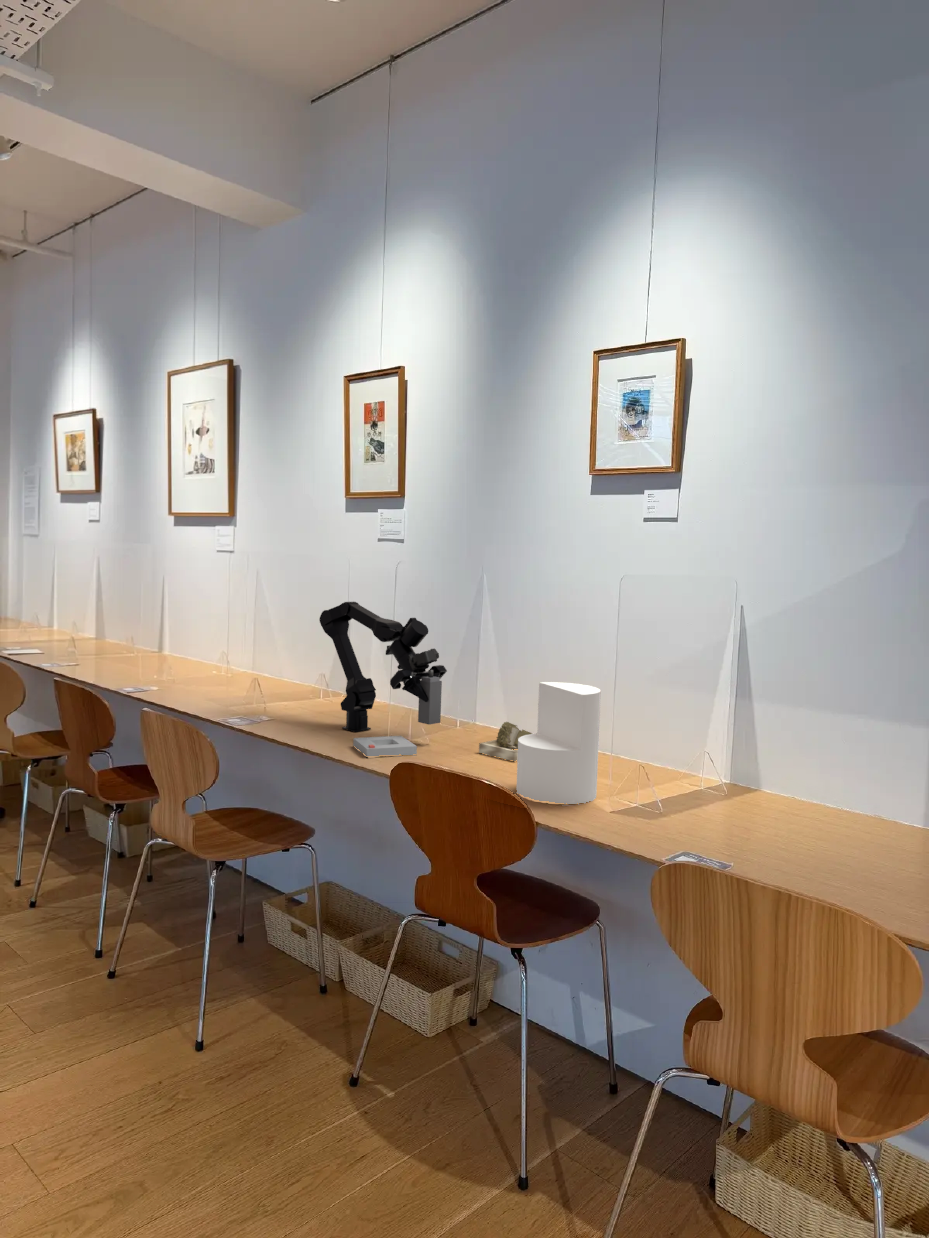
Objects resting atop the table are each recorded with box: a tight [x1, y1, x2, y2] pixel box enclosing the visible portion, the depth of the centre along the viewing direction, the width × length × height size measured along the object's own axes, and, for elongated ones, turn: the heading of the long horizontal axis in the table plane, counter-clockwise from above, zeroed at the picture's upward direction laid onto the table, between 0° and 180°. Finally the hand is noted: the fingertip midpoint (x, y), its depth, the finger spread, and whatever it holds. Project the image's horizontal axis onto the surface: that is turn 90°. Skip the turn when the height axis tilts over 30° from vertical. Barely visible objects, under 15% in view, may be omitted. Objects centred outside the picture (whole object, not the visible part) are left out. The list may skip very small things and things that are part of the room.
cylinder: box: [516, 681, 602, 805], centre depth 212 cm, size 19×19×25 cm
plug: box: [417, 669, 443, 725], centre depth 258 cm, size 4×4×15 cm
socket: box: [352, 735, 418, 756], centre depth 251 cm, size 14×14×3 cm
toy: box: [496, 721, 534, 749], centre depth 254 cm, size 7×7×15 cm
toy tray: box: [478, 739, 518, 761], centre depth 254 cm, size 13×21×3 cm, turn 136°
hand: (433, 700), depth 257 cm, fingers closed on plug, 5 cm apart
